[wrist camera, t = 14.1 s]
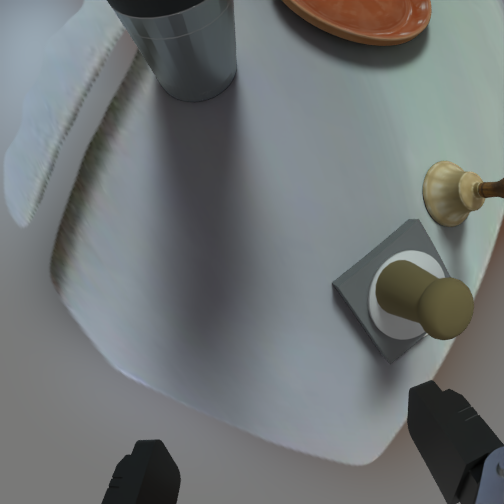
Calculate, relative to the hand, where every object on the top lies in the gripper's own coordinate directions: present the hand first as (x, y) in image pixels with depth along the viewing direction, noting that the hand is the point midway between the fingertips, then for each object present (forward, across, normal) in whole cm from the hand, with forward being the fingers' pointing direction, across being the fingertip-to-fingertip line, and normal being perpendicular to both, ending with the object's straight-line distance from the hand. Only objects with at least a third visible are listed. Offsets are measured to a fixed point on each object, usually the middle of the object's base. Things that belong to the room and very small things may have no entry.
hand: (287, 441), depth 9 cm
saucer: (+32, -21, -32) cm, 50 cm away
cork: (+23, -14, +7) cm, 28 cm away
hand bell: (+28, -25, -1) cm, 38 cm away
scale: (+27, -15, +8) cm, 32 cm away
